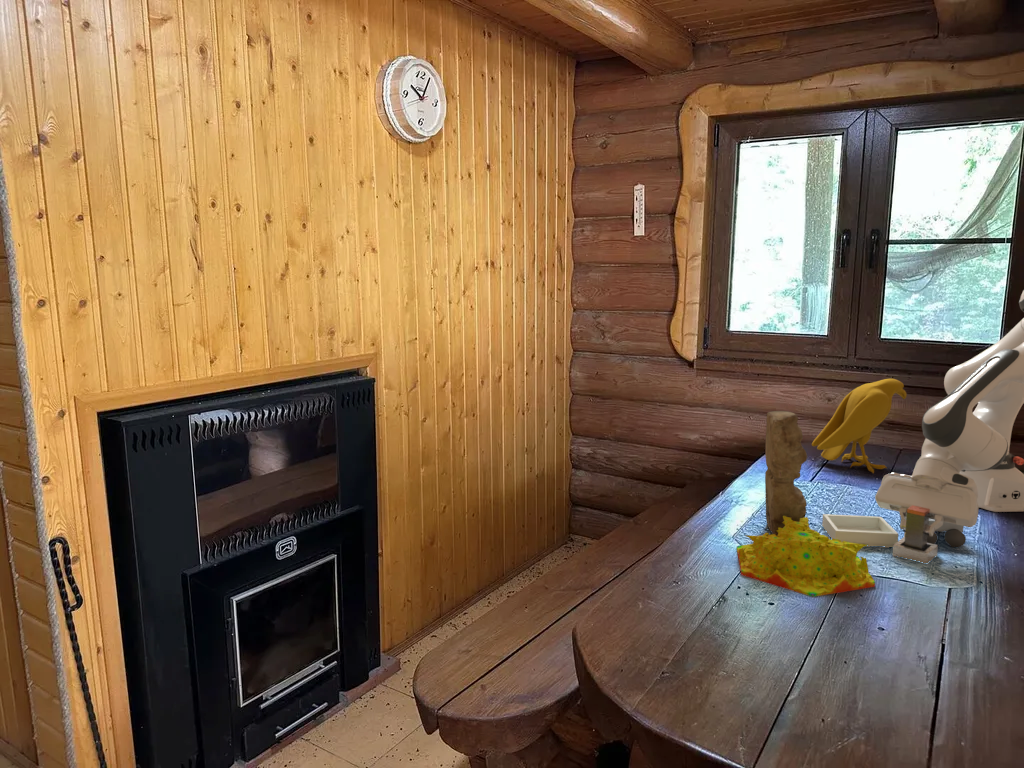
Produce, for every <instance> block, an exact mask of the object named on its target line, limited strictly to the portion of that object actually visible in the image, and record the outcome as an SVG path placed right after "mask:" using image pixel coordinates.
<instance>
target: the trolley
mask: <svg viewBox="0 0 1024 768" xmlns="http://www.w3.org/2000/svg"><path fill="white" fill-rule="evenodd" d="M906 519H907V517H905V520H906ZM901 521H902V519H901V518H900V522H901ZM934 522H935V520H934V519H929V524H928V525H931V524H933V523H934ZM942 532H945V533H944V535H943V539H944V541H945V543H946V544H947V545H948V546H950V547H952V548H954V547H958V548H961V547H963V546H964V545H965V543H966V541H967V540H966V539H967V538H966V537H967V536H966V535H965V534H964V526H961V525H957V524H952V523H948V522H943V525H942V526H941V527H939V528H938V529H937V530H935V531H934V534H933V536H927V543H931V544H935V545H936V543H937V541H938V533H942Z"/></svg>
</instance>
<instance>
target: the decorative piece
mask: <svg viewBox="0 0 1024 768" xmlns="http://www.w3.org/2000/svg"><path fill="white" fill-rule="evenodd" d="M783 519H784V521H783V522H782V523H783V524H785V526H784V527H783V528H778V530H777V532H778V535H777V536H776V535H775V534H772V533H769V532H765V533H763V534H759V535H746V534H745V535H744V536H745V537H746V538H749V539H750V540H751V541H752V543H749V544H744V545H743V544H742V545H737V546H736V552H737V557H738V565H739V570H740V575H741V576H743V577H744V576H745V577H747V578H750V579H753V580H756V581H759V582H763V583H767V584H769V585H773V586H776V587H780V588H783V589H786V590H789V591H792V592H797V593H799V594H802V595H806V596H808V597H809V596H810V597H813V598H814V597H819V596H826V595H833V594H837V593H844V592H850V591H851V592H852V591H857V590H863V589H868V588H869V589H870V588H875V587H876V581H875V580H874V578H873V576H872V575H871V574H870V573H869V571H870V570H869V566H868V560H867V557H864V556H860V557H859V556H858V552H859V551H860V550H861V549H863V548H864V547H868V546H867V545H865V544H858V543H851V542H847V541H843V542H841V540H838V539H832V540H831V539H830V537H829V536H828V535H824V534H821V533H820V532H818V531H817V530H814V529H812V528H811V527H810V524H809V522H810V520H809V517H807V516H805V517H804V518H800V521H799V522H796V521H793V520H791V518H790V517H786V516H785V515H784V516H783ZM860 558H861V559H860Z"/></svg>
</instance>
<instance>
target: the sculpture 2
mask: <svg viewBox="0 0 1024 768" xmlns="http://www.w3.org/2000/svg"><path fill="white" fill-rule="evenodd" d="M904 387H905V386H904V383H903V382H902V381H900V380H898V379H895V378H884V379H881V380H877V381H873V382H870V383H869V382H868V383H864V384H862V385H860V386H857V387H855V388H854V389H853V390H851V391H850V392H849V393H848V394H846V395H845V396H844V397H843V399H842V401H841V402H840V403H839V404H838V406H837V408H836V410H835V412H834V413H833V416H832V417H831V419H830V420H829V421H828V422H827V424H826V425H825V426H824V427H823V429H821V431H820V432H819V434H818V435H817V436H816V437H815V438H814V440H813V441H812V443H811V446H812V447H816V449H817V450H819V451H822V450H823V451H822V452H821V453H820V456H821V458H823V459H825V460H828V461H835V460H838V458H840V457H841V455H843V454H844V455H843V456H842V457H841V463H843V461H845V460H851V459H852V458H853V459H855V460H856V461H853V462H852V463H851V465H850V467H849V468H850V469H851V468H852V467H861V466H864V465H865V466H866V468H867V470H868V471H869V472H870V473H872V474H874V473H875V470H883V469H886V470H887V469H888V468H887V467H888V466H886V465H885V464H874V463H871V462H870V461H869V457H868V455H866V451H865V445H866V444H867V443H868V442H869V441H870V439H871V436H872V431H873V430H874V429H875V428H876V427H878V426H879V425H880V424H881V423H883V422H884V421H885V419H886V418H887V416H888V415H889V414H890V411H891V409H892V405H893V402H892V399H893V396H895V394H897V395H898V396H900V397H901V398H902V399H903V400H905V399H906V398H907V395H908V394H907V391H906V390H905V389H904ZM851 443H852V446H851V451H850V453H844V452H845V451H846V449H847V447H848V446H849V445H850V444H851ZM857 443H858V445H859V449H860V450H861V455H857V453H856V450H857ZM857 461H858V462H857Z"/></svg>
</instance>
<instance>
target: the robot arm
mask: <svg viewBox="0 0 1024 768" xmlns="http://www.w3.org/2000/svg"><path fill="white" fill-rule="evenodd" d="M1018 304H1019V308H1020V310H1021V311H1022V312H1023V313H1024V290H1022V293H1021V295H1020V298H1019V301H1018ZM943 380H944V381H943V385H944V391H945V392H946V394H947V395H946V396H945V397H944V398H941V400H939V401H938V402H936V403H934V404H933V405H931V407H929V408H928V409H927V410H926V411H925V413H924V414H923V416H922V420H921V429H922V434H923V436H924V438H925V439H924V442H923V444H922V446H921V454H920V455H921V456H919V459H917V461H916V462H915V466H914V469H913V472H912V474H911V475H908V474H904V473H898V472H891V473H888V474H885V475H883V476H882V477H883V478H882V480H881V482H880V486H879V487H878V489H877V492H876V494H875V496H874V498H875V502H876V504H877V505H878V507H879V508H880V509H886V510H890V511H894V512H898V513H899V516H900V524H899V527H900V530H904V531H906V520H905V517H907V509H908V508H909V507H911V506H912V505H913V506H918V507H923V508H928V509H930V511H929V519H934V520H935V522H934V523H933V524H931V525H926V527H925V530H924V533H925V535H928V536H933V534H934V531H935V530H937V529H938V528H939V527H941V526H942V525H943V522H948V523H952V524H957V525H961V526H963V527H966V528H972V527H974V526H976V525H977V521H978V517H979V508H981V509H984V510H987V511H991V512H993V513H994V512H995V513H998V512H999V513H1002V512H1003V513H1005V512H1006V513H1007V512H1010V513H1011V512H1024V472H1022V471H1020V470H1019V469H1018V468H1017V467H1016V465H1018V466H1022V465H1024V458H1022V457H1020V456H1015V455H1014V454H1013V453H1010V445H1011V438H1012V431H1013V426H1014V423H1015V421H1016V418H1017V415H1018V414H1019V412H1020V410H1021V408H1022V406H1023V404H1024V317H1023V318H1022V319H1021V320H1020V321H1019V322H1018V323H1017V324H1015V326H1014V327H1013V328H1011V329H1010V330H1009V331H1008V333H1006V334H1005V336H1003V337H1002V338H1001V339H1000V340H998V341H997V342H995V343H994V344H992V345H991V346H989V347H988V348H987V349H985V350H983V351H981V352H980V353H979V354H977V355H975V356H973V357H972V358H971V359H969V360H967V361H964V362H963V363H961V364H957V365H956V366H953V367H951V368H949V370H948V371H947V372H946V373H945V376H944V379H943ZM976 405H977V406H976ZM975 406H976V407H975ZM974 407H975V409H974ZM973 409H974V411H973ZM1015 464H1016V465H1015ZM901 519H902V521H901Z"/></svg>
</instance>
